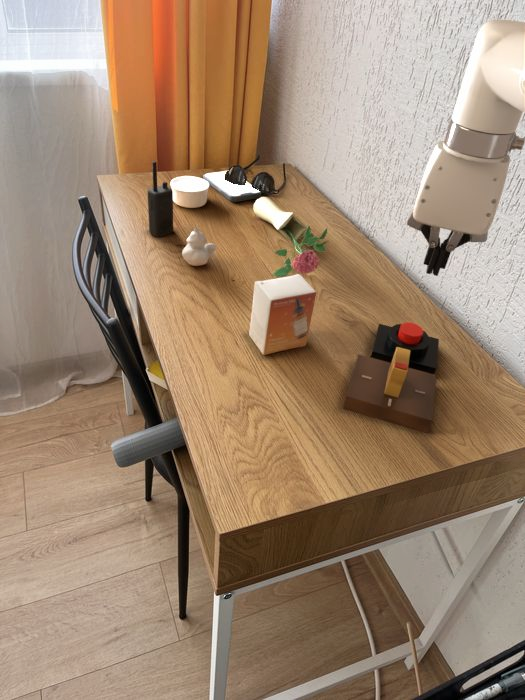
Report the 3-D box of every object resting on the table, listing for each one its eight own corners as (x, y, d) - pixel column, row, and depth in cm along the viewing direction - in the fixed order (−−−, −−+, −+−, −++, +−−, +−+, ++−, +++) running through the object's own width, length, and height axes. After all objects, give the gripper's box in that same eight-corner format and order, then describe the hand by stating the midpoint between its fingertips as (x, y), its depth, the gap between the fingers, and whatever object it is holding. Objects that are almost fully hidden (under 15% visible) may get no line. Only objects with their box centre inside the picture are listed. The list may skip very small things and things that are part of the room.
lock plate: (431, 387, 80) (436, 374, 79) (427, 432, 73) (432, 419, 71) (354, 366, 83) (358, 353, 81) (342, 408, 75) (346, 395, 73)
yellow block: (388, 372, 78) (397, 345, 75) (401, 375, 78) (411, 348, 74) (384, 394, 74) (393, 366, 71) (398, 398, 74) (408, 370, 71)
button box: (435, 349, 88) (442, 330, 85) (432, 378, 82) (440, 359, 79) (376, 333, 90) (381, 314, 87) (369, 361, 84) (374, 342, 81)
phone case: (201, 179, 134) (231, 203, 124) (201, 173, 133) (232, 197, 123) (231, 175, 138) (263, 198, 128) (231, 169, 137) (263, 192, 127)
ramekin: (215, 199, 126) (216, 181, 123) (197, 212, 119) (198, 194, 116) (182, 190, 128) (182, 172, 125) (163, 203, 121) (163, 185, 118)
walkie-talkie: (165, 226, 113) (163, 155, 103) (175, 232, 111) (174, 161, 101) (146, 232, 110) (143, 160, 100) (156, 238, 108) (154, 166, 99)
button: (421, 334, 85) (424, 325, 83) (419, 347, 82) (422, 338, 81) (398, 328, 85) (401, 320, 84) (396, 341, 82) (399, 332, 81)
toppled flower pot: (275, 250, 124) (336, 305, 95) (227, 237, 119) (276, 290, 90) (292, 201, 120) (361, 242, 91) (243, 185, 115) (300, 224, 86)
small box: (262, 356, 82) (269, 300, 76) (248, 335, 86) (253, 280, 79) (307, 346, 85) (317, 291, 79) (291, 326, 89) (299, 272, 82)
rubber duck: (179, 257, 103) (179, 219, 98) (212, 254, 105) (213, 217, 100) (185, 271, 99) (185, 233, 94) (219, 268, 101) (221, 230, 96)
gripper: (538, 143, 66) (484, 270, 77) (418, 121, 68) (384, 247, 80) (544, 162, 60) (485, 296, 72) (413, 137, 63) (377, 270, 74)
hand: (432, 270), depth 76 cm, fingers closed
